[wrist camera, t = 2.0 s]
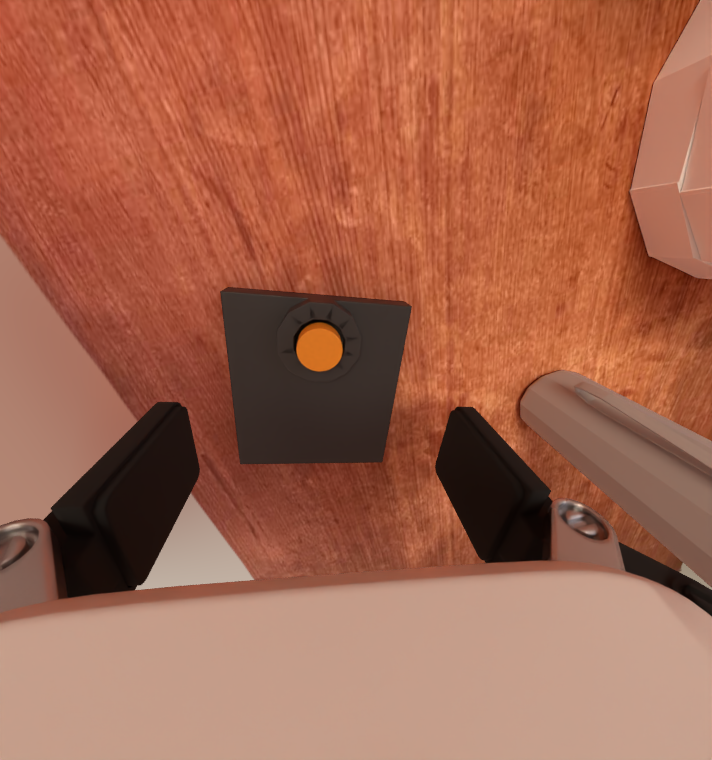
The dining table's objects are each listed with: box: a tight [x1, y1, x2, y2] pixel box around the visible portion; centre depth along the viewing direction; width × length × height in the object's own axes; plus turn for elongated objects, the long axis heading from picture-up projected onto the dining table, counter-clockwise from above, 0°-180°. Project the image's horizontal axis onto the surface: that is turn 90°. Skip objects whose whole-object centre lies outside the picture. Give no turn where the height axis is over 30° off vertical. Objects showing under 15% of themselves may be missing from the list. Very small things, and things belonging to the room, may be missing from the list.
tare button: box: [296, 323, 343, 371], centre depth 20 cm, size 3×3×2 cm
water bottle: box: [520, 370, 712, 587], centre depth 18 cm, size 9×8×25 cm
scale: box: [220, 287, 411, 464], centre depth 24 cm, size 14×16×4 cm
